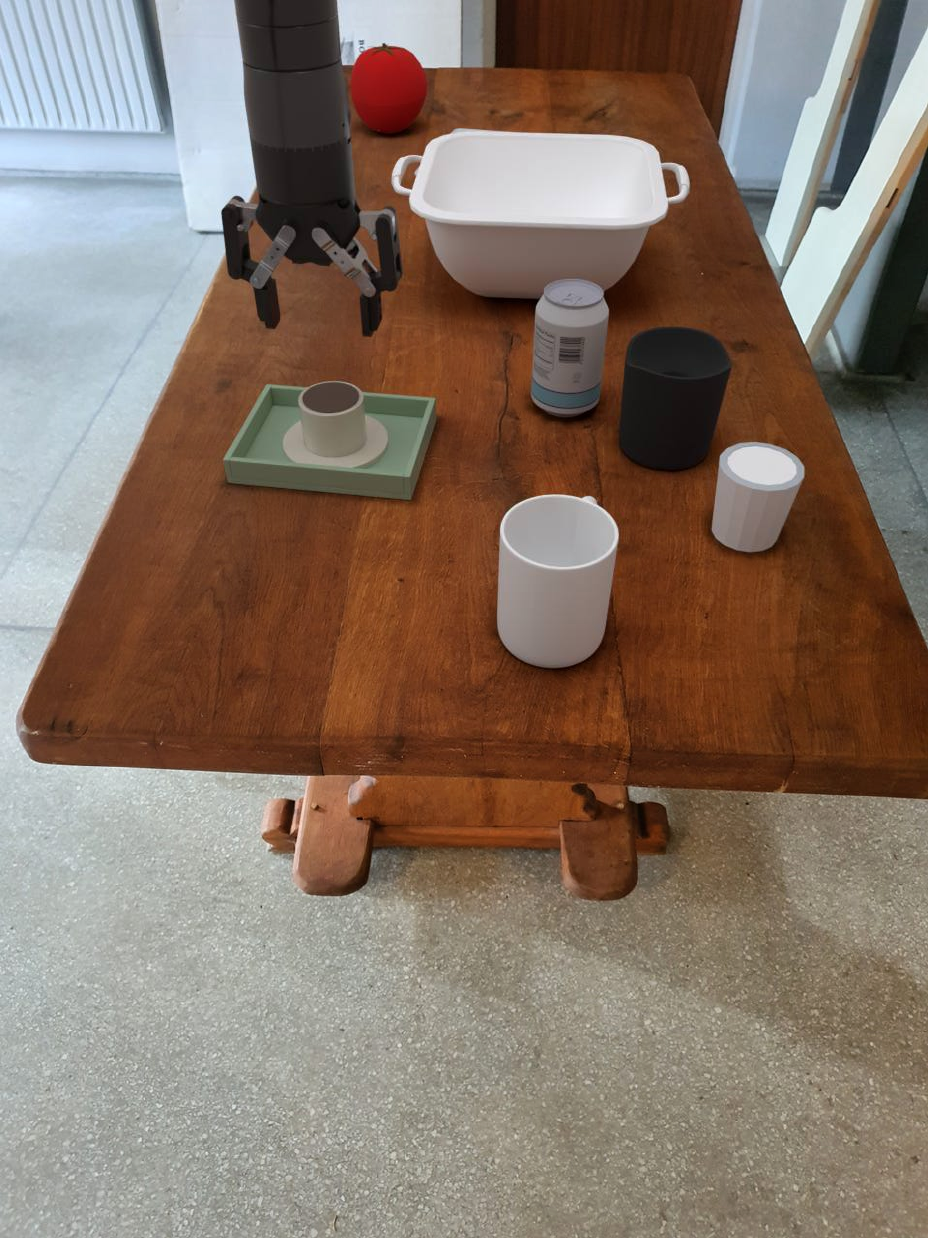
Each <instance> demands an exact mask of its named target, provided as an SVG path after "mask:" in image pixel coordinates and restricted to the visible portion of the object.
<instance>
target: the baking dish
mask: <svg viewBox="0 0 928 1238" xmlns="http://www.w3.org/2000/svg"><path fill="white" fill-rule="evenodd" d="M413 163H420V164H419V166H420V167H419V166H418V167H419V170H418V173H417V176H415V179H414V182H413V185H412V188H411V189H410V188H405V187H404V186H402V180H403V177H404V175H405V173H406V172H407V169H408V166H409V165H411V164H413ZM393 167H394V168H393V169H392V172H391V186H392V187H393V191H394V192H395V193H396V194H398V195H400V196H407V197H408V203H409V208H410V210H411V211H412V212H414V213H415V214H416V215H417V216H419V217H420V218H422V219H424V220H425V224H426V228H427V233H428V235H429V239H430V242H431V244H432V247H433V251H434V253H435V255H436V257H437V259H438V260H439V261H440V263H441V265H442V266H443V268H444V269H445V271H446V272H447V273H448V274H449V275H450V276H451V277H452V279H453V280H454V281H455V282H457V283H458V284H460V285H461V286H462V287H464V289H466V290H468V291H469V292H471V293H473V294H475V295H478V296H481V297H485V298H502V299H503V298H504V299H525V300H526V299H529V300H540V299H541V297H542V296H543V294H544V289H545V287H546V286H547V285H548V284H550V283H552V282H555V281H558V280H563V279H580V280H586V281H589V282H592V283H595V284H596V285H598V286H599V287H601V288H602V290H603V293H604V292H605V291H607V290H608V289H610V288H612V287H614V286H615V284H617V283H618V282H619V281H620V280H621V279H622V278H623V277H624V276H625V275H626V274H627V272H628V271H629V270H630V268H631V267H632V265H634V263H635V262H636V260H637V257H638V255H639V253H640V251H641V249H642V248H643V244H644V242H645V238H646V237H647V234H648V232H649V229H650V227H651V226H654V225H656V224H657V223H659V222H661V221H662V220H664V219H666V217H667V214H668V211H669V205H675V204H680V203H683V202H684V201H685V200H686V198H687V197H688V196H689V194H690V187H691V185H690V184H691V182H690V177H689V174H688V170H687V169H686V168H685V166H683V165H680V164H679V163H675V162H662V163H661V157H660V152H659V151H658V150H657V149H656V146H654V145H653V144H650V143H648V142H647V141H644V140H641V139H637V138H634V137H630V136H625V135H624V136H622V135H614V134H613V135H612V134H586V133H554V132H553V133H549V132H517V131H504V132H483V131H474V132H458V133H452V134H450V133H448V134H447V133H446V134H443V135H440V136H438V137H435V138H433V139H432V140H431V141H430V142H429V143H428V144H426V146H425V149H424V152H423V155H417V154H416V155H415V154H409V155H406V156H402V157H400V158H398V160H397V161H396V163H395V165H394V166H393ZM663 170H665V171H666V170H667V171H671V172H673V173H674V174H675V178H676V179H675V180H676V182H677V185H678V191H679V194H677V195H675V196H671V197H670V196H669V197H667V191H666V184H665V180H664V174H663Z"/></svg>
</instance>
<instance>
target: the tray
mask: <svg viewBox="0 0 928 1238" xmlns="http://www.w3.org/2000/svg"><path fill="white" fill-rule="evenodd" d="M308 387H309V386H307V387H306V386H295V385H294V386H293V385H281V384H270V383H266V384H265V386H264V388H263V390H262V391H261V393H260V394H259V396H258V398H257V400H256V401H255V403H254V405H253V406H252V409H251V411H250V412H249V414H248V415H247V417H246V419H245V421H244V422H243V424H242V426H241V427H240V428H239V431H238V433H237V434H236V436H235V438H234V439H233V441H232V443H231V445H230V446H229V448H228V450H227V452H226V453H225V455H224V457H223V459H222V463H223V467H224V473H225V476H226V482H227V484H233V485H234V484H235V485H247V486H256V487H265V488H266V487H267V488H276V489H277V488H278V489H289V490H300V491H307V492H308V491H310V492H318V493H319V492H320V493H330V494H340V495H341V494H342V495H349V496H352V495H353V496H361V497H371V498H372V497H373V498H384V499H393V500H394V499H395V500H404V501H412V498H413V496H414V492H415V490H416V486H417V483H418V479H419V477H420V473H421V469H422V467H423V464H424V461H425V458H426V454H427V451H428V448H429V444H430V441H431V439H432V435H433V432H434V429H435V426H436V423H437V398H436V397H429V396H428V397H427V396H418V395H417V396H415V395H405V394H404V395H402V394H393V393H381V392H379V393H378V392H368V391H362V393H363V396H364V406H365V415H368V416H370V417H372V418H374V419H376V420H377V421H379V422H380V423H381V424H382V425H383V426H384V427H385V429H386V431H387V433H388V448H387V450H386V452H385V454H384V455H383V457H382V458H381V459H380V460H379V461H377V462H376V463H375V464H373V465H371V466H370V467H367V468H365V469H359V468H348V467H337V466H326V465H315V464H304V463H294V462H289V461H288V459H287V458H286V456H285V454H284V451H283V438H284V436H285V434H286V432H287V431H288V430H289V429H290V428H291V427H292V426H293V425H294V424H296V423H297V422H299V421H300V420H301V419H300V412H299V405H298V398H299V395H300V394H301V393H302V391H304V390H305V389H306V388H308Z"/></svg>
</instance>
